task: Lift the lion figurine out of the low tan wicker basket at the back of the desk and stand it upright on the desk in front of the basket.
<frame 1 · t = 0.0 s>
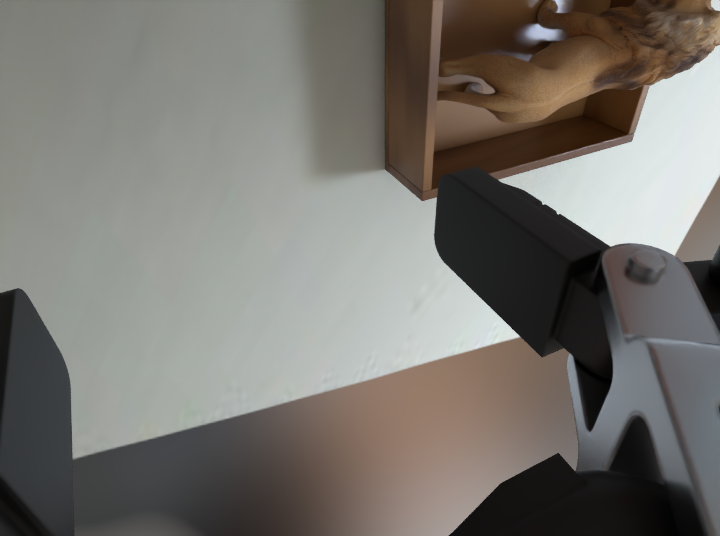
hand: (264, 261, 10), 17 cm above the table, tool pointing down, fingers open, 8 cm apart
basket: (505, 38, 30), on the table
lion figurine: (508, 39, 30), resting on basket
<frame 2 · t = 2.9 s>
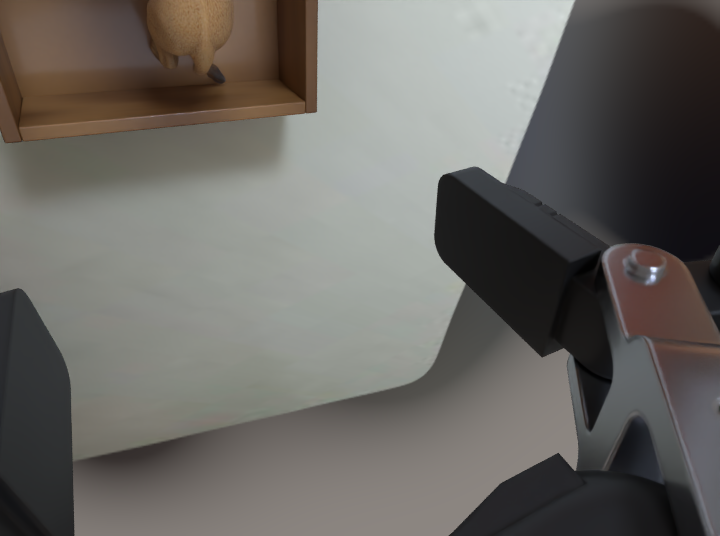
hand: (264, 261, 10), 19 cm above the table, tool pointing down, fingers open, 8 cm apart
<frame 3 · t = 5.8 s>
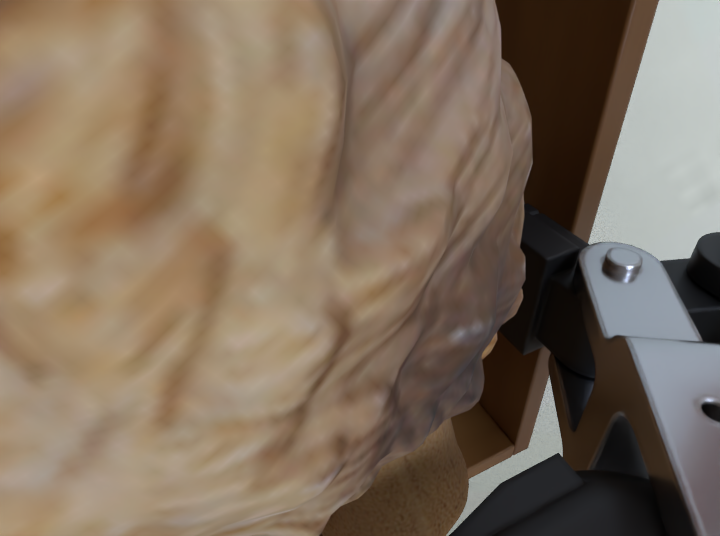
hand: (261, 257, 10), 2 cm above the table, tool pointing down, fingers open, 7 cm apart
basket: (223, 210, 11), on the table
lion figurine: (225, 214, 11), resting on basket
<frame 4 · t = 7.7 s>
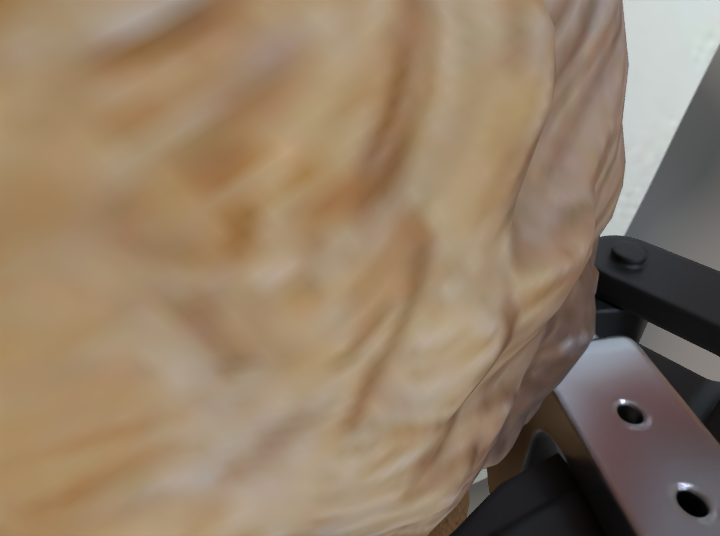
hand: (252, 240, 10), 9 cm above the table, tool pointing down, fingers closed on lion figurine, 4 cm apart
lion figurine: (229, 217, 11), point 8 cm above the table, touching gripper
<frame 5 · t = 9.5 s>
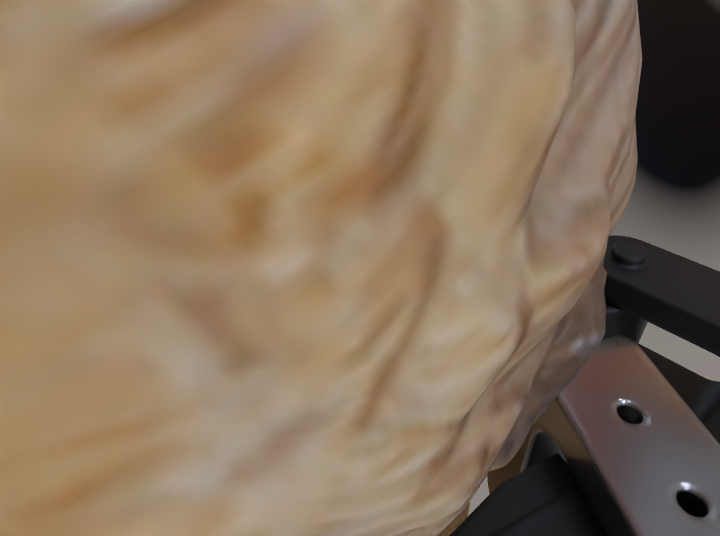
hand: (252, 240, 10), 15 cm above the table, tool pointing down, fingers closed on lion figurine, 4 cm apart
lion figurine: (230, 217, 11), point 14 cm above the table, touching gripper
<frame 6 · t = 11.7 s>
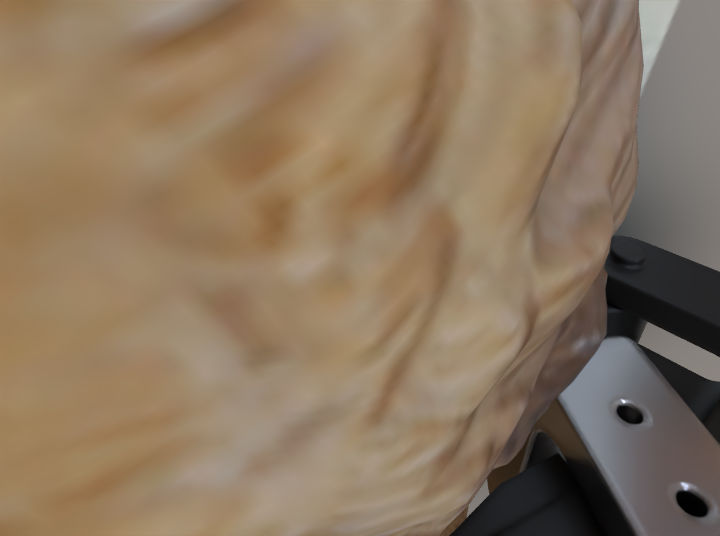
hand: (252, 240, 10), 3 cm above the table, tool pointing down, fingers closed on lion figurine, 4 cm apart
lion figurine: (230, 218, 11), point 2 cm above the table, touching gripper
when the fingers open (1 cm above the table, at t = 12.9 s): lion figurine stays where it is, on the table.
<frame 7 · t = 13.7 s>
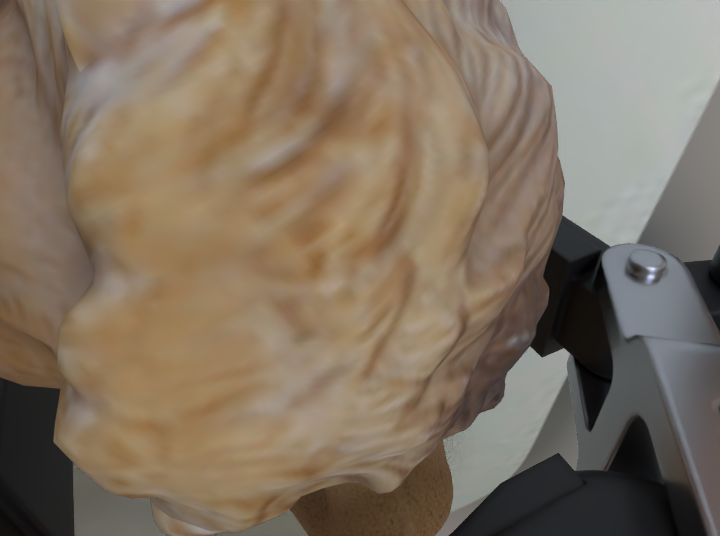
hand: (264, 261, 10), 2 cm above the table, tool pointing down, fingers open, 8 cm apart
lion figurine: (236, 226, 12), on the table
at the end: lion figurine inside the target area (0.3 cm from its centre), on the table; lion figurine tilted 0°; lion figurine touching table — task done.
